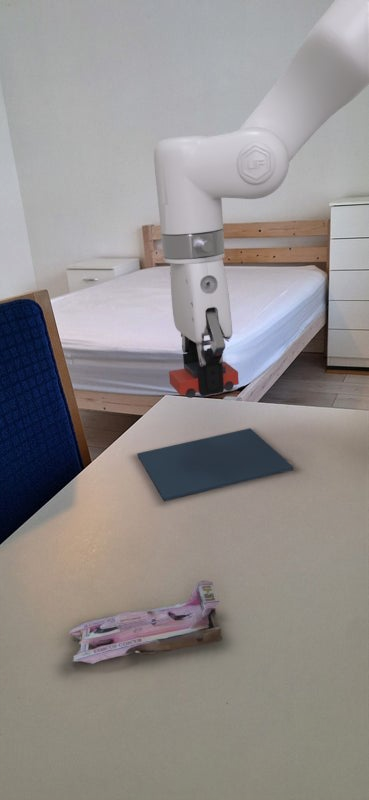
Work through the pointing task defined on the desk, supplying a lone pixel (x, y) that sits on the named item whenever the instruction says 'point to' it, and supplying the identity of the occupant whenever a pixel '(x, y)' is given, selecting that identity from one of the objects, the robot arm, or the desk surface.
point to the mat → (211, 463)
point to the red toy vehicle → (188, 379)
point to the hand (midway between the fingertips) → (204, 385)
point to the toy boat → (151, 628)
